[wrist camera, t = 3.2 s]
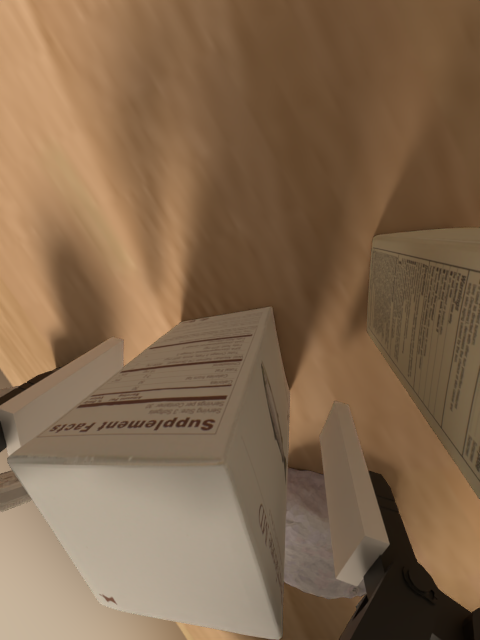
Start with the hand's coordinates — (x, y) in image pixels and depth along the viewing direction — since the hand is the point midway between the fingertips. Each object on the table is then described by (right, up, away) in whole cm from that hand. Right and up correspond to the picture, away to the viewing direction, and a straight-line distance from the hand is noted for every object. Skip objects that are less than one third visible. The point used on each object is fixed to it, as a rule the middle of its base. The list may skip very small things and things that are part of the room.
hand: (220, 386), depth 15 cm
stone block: (+9, -14, +8) cm, 19 cm away
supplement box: (+1, +1, +4) cm, 4 cm away
